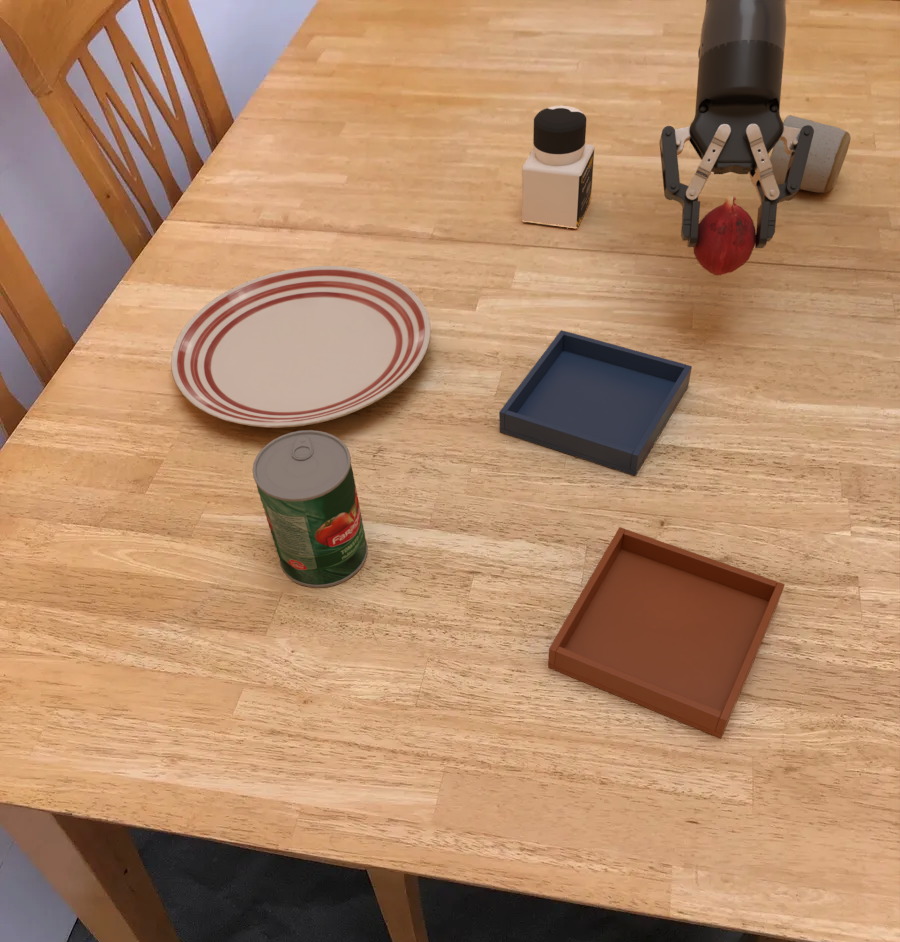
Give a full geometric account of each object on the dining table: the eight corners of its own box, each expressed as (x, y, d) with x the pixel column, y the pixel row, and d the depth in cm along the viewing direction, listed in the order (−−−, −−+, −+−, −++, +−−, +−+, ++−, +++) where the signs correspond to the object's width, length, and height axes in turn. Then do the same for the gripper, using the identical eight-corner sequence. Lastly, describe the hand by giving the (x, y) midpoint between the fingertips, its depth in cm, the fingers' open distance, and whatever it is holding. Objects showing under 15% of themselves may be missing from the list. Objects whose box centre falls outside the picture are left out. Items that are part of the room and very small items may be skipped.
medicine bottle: (577, 231, 112) (583, 130, 103) (521, 223, 114) (521, 124, 104) (591, 200, 116) (598, 101, 107) (536, 194, 118) (538, 96, 108)
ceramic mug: (827, 206, 112) (845, 142, 106) (760, 193, 115) (774, 130, 109) (845, 166, 118) (864, 103, 112) (781, 155, 121) (795, 93, 115)
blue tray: (688, 386, 93) (692, 365, 91) (635, 476, 86) (638, 455, 84) (560, 350, 98) (560, 329, 96) (499, 432, 91) (499, 411, 89)
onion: (758, 283, 90) (775, 206, 84) (704, 297, 90) (717, 220, 83) (731, 252, 94) (745, 176, 87) (678, 265, 93) (689, 189, 87)
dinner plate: (127, 416, 95) (116, 390, 93) (256, 271, 111) (250, 245, 108) (368, 475, 88) (363, 449, 85) (470, 310, 103) (468, 284, 101)
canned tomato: (368, 583, 80) (351, 493, 71) (278, 592, 80) (249, 503, 71) (366, 516, 85) (350, 425, 76) (281, 525, 85) (254, 434, 76)
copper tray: (777, 603, 76) (785, 583, 74) (721, 738, 69) (727, 721, 67) (616, 546, 81) (619, 526, 79) (547, 667, 73) (548, 648, 71)
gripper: (665, 37, 82) (652, 234, 84) (833, 34, 80) (815, 236, 83) (657, 74, 90) (646, 254, 92) (811, 72, 88) (796, 256, 90)
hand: (726, 245), depth 87 cm, fingers closed on onion, 5 cm apart
